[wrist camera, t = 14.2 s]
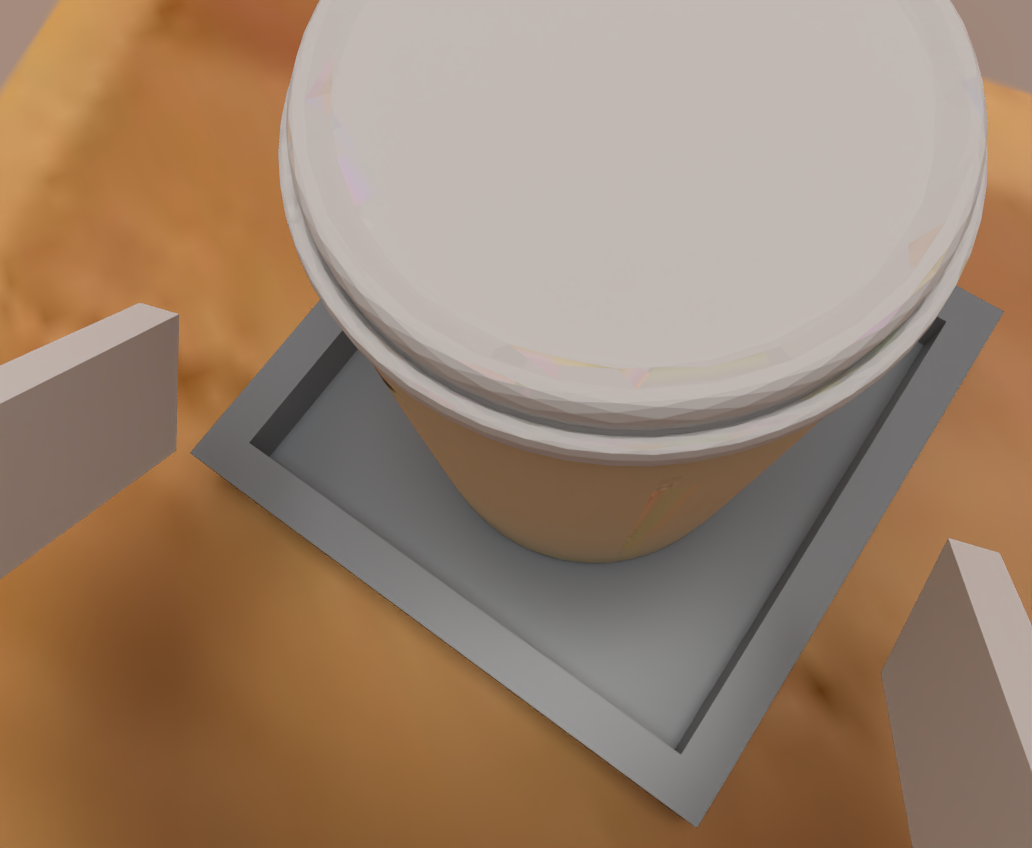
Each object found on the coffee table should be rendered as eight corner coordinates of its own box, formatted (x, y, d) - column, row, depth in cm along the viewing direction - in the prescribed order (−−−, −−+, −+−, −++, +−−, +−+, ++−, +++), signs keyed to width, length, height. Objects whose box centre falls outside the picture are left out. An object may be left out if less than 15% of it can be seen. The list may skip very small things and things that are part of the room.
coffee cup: (484, 211, 25) (428, -240, 13) (819, 312, 23) (1074, -97, 12) (347, 522, 22) (126, 285, 10) (718, 659, 20) (928, 556, 9)
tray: (967, 345, 23) (1004, 311, 21) (683, 819, 20) (697, 828, 18) (530, 102, 26) (528, 54, 25) (220, 475, 23) (189, 452, 21)
